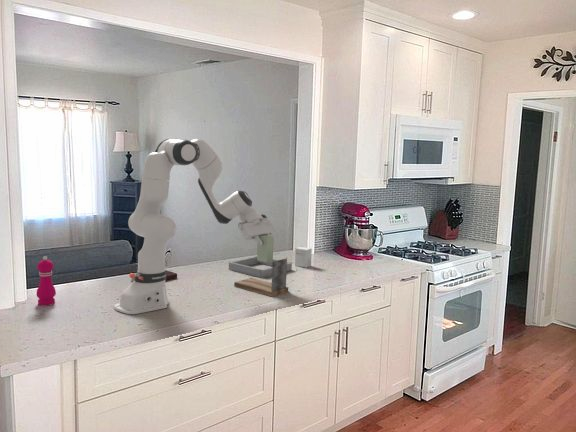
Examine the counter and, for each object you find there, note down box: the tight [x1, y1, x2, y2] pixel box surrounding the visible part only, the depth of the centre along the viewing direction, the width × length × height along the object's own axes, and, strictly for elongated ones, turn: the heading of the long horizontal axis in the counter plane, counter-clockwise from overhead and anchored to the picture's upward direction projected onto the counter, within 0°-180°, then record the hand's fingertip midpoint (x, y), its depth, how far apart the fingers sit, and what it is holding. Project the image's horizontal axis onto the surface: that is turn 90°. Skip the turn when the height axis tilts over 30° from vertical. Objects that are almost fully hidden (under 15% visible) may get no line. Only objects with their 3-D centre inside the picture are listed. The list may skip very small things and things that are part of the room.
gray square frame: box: [228, 255, 293, 279], centre depth 277 cm, size 25×25×4 cm
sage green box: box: [256, 235, 275, 263], centre depth 236 cm, size 4×6×12 cm
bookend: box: [233, 258, 289, 297], centre depth 239 cm, size 12×24×16 cm, turn 52°
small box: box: [294, 246, 312, 269], centre depth 290 cm, size 8×6×10 cm
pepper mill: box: [36, 255, 57, 306], centre depth 205 cm, size 7×7×20 cm
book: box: [130, 269, 178, 283], centre depth 249 cm, size 12×19×3 cm, turn 146°
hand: (266, 243), depth 236 cm, fingers closed on sage green box, 4 cm apart
